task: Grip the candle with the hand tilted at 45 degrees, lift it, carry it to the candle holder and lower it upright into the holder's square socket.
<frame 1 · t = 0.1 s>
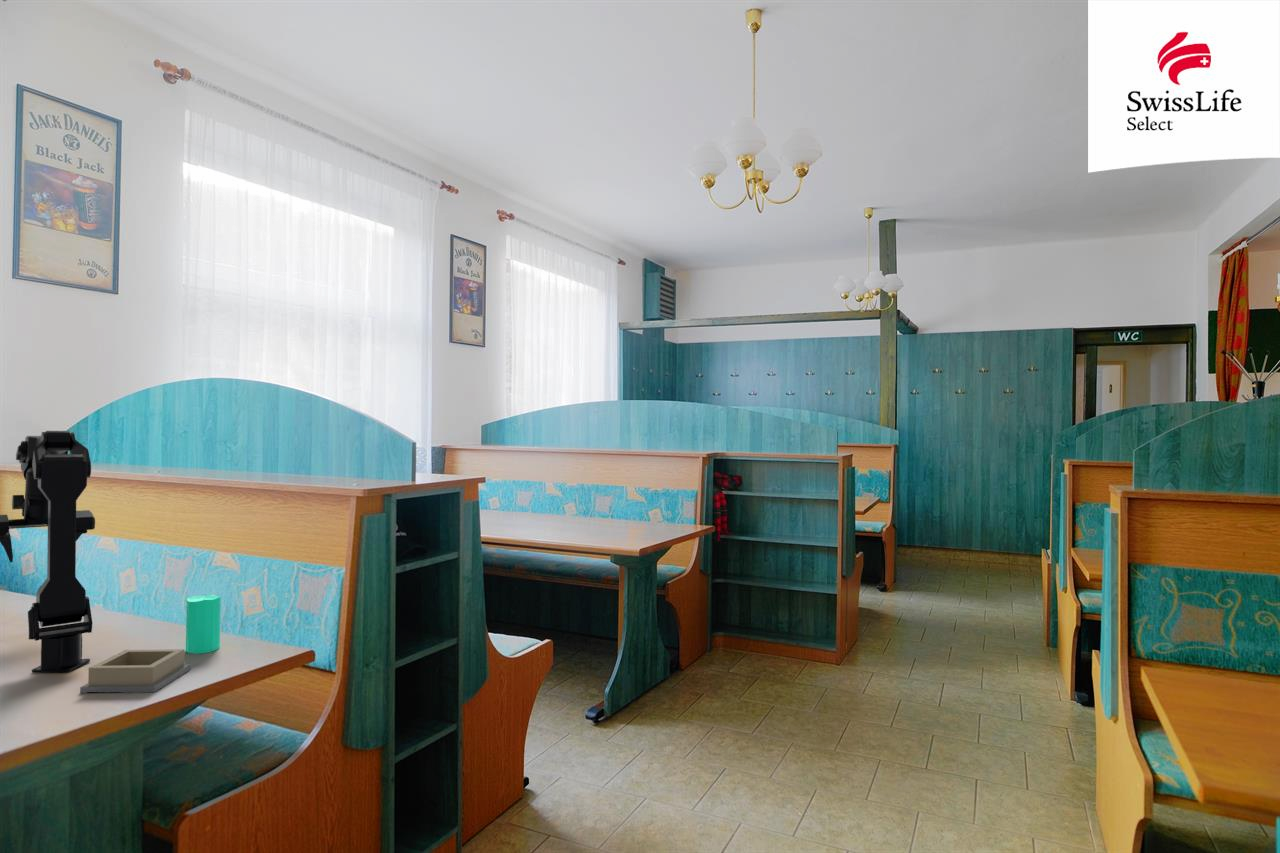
hand: (38, 559, 163), 15 cm above the table, tool pointing down, fingers open, 9 cm apart
candle: (202, 649, 151), on the table
candle holder: (138, 680, 132), on the table
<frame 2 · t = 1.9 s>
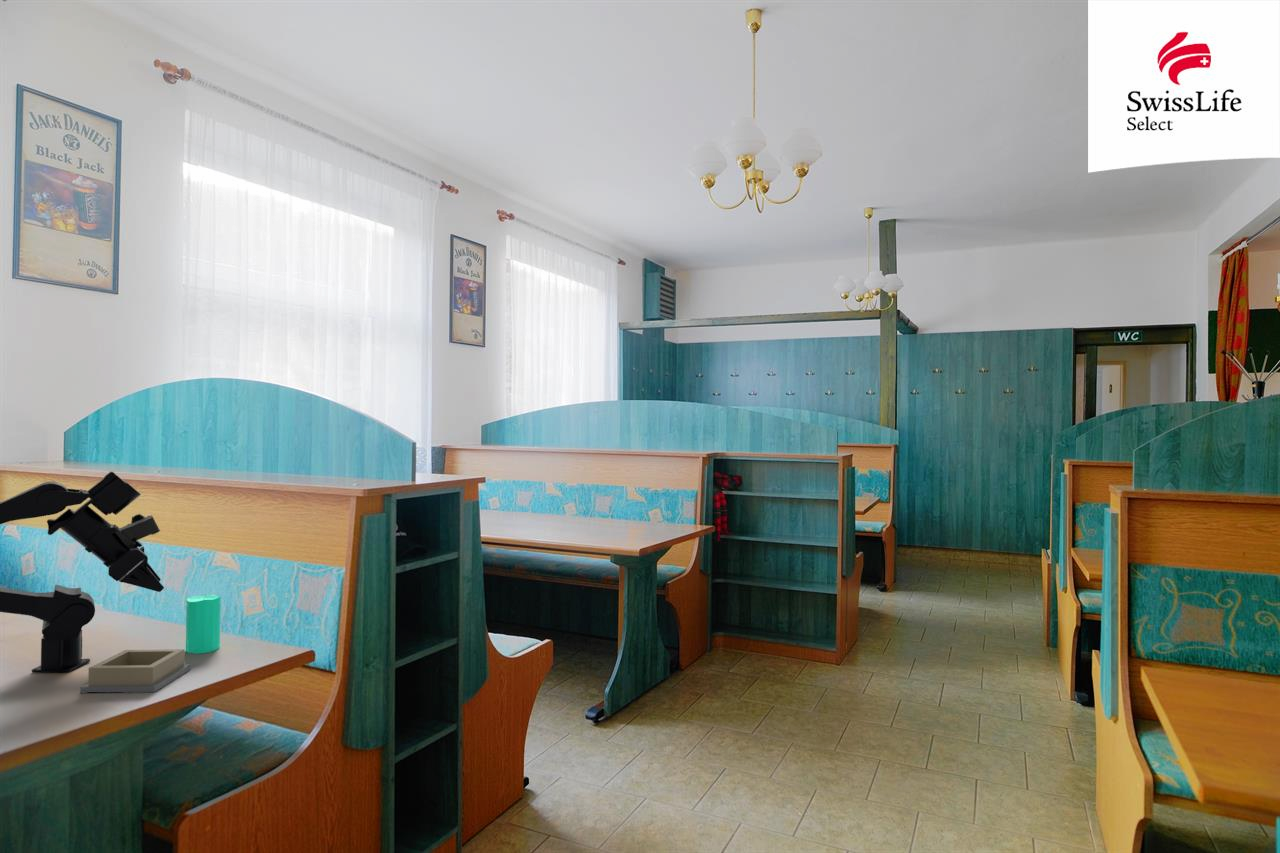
hand: (160, 585, 147), 14 cm above the table, tool tilted 45°, fingers open, 9 cm apart
nothing on the table moved.
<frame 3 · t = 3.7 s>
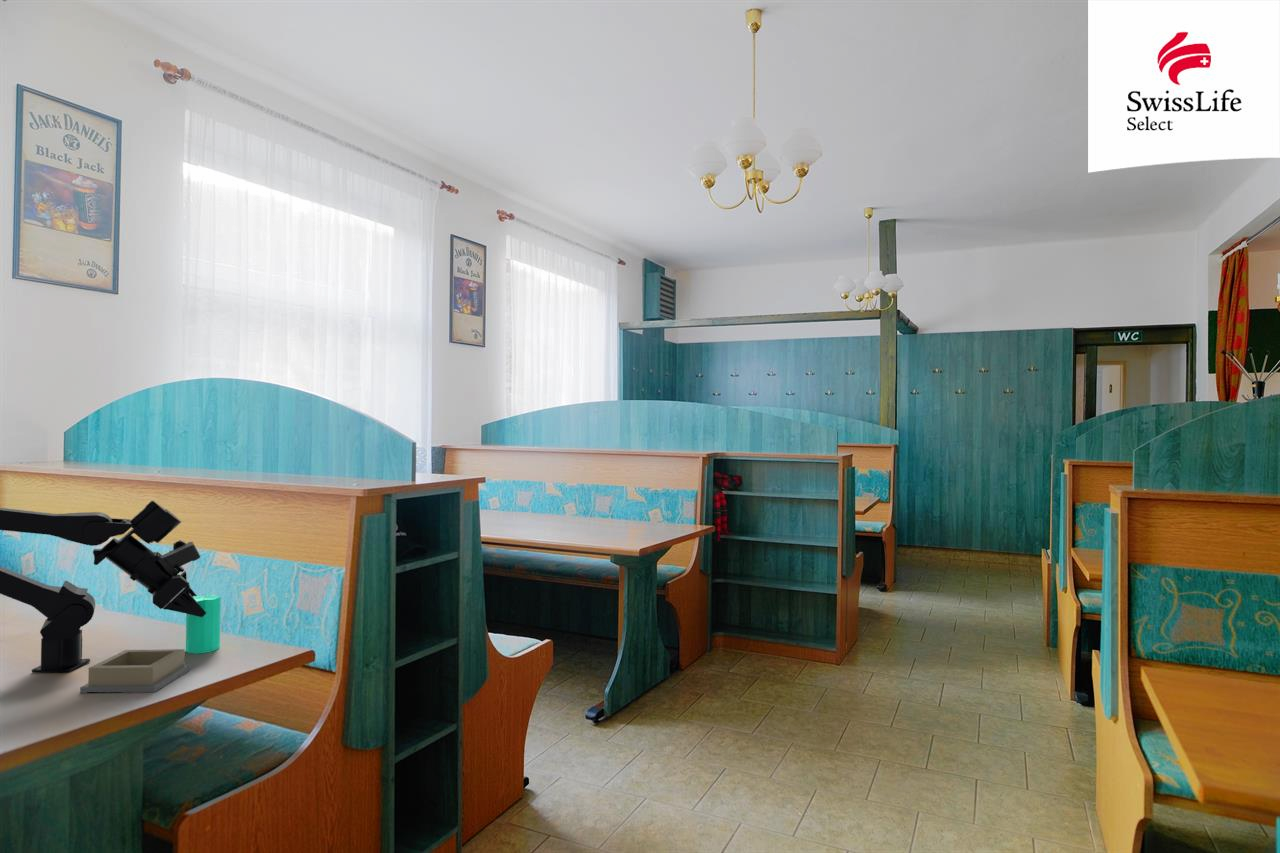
hand: (202, 610, 151), 8 cm above the table, tool tilted 45°, fingers open, 9 cm apart
nothing on the table moved.
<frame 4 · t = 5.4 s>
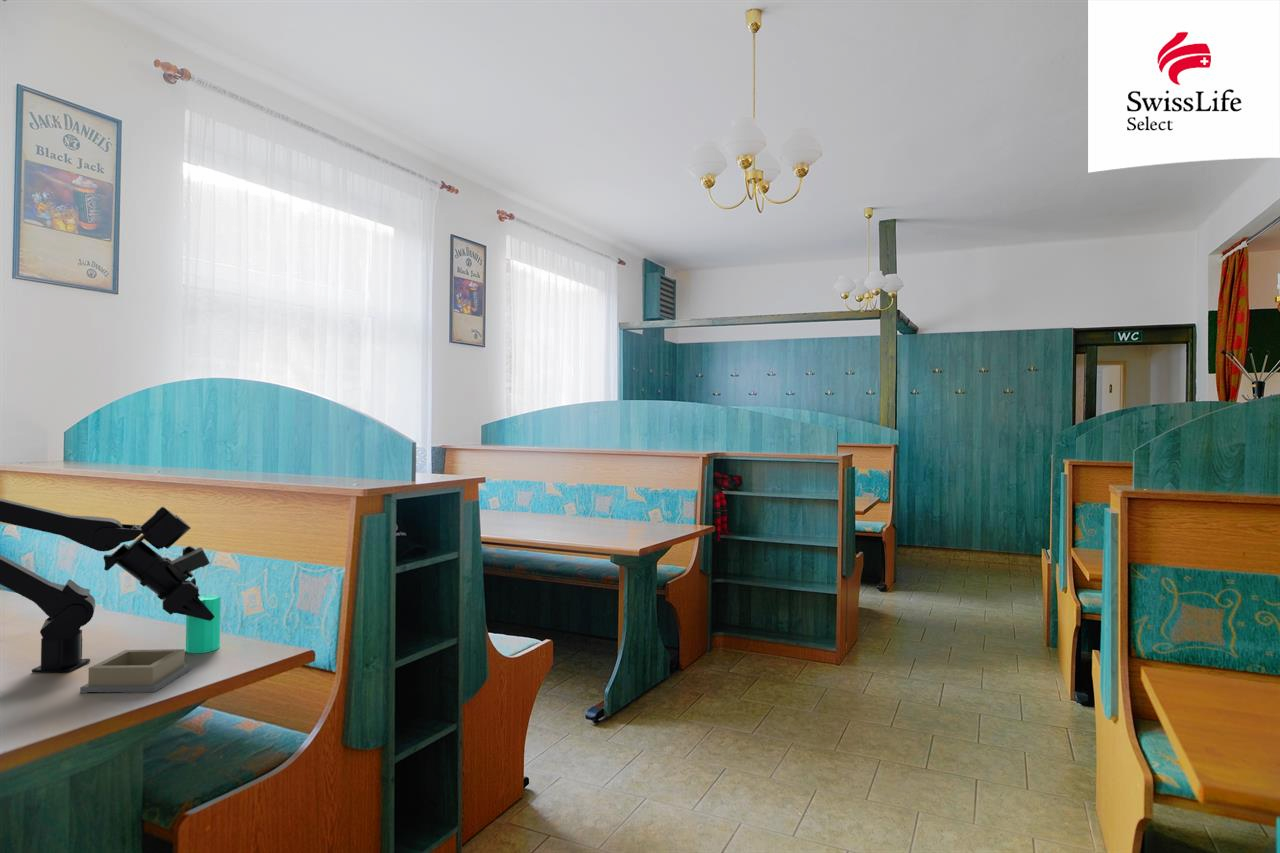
hand: (211, 615, 152), 7 cm above the table, tool tilted 45°, fingers closed on candle, 5 cm apart
candle: (202, 649, 151), on the table, touching gripper
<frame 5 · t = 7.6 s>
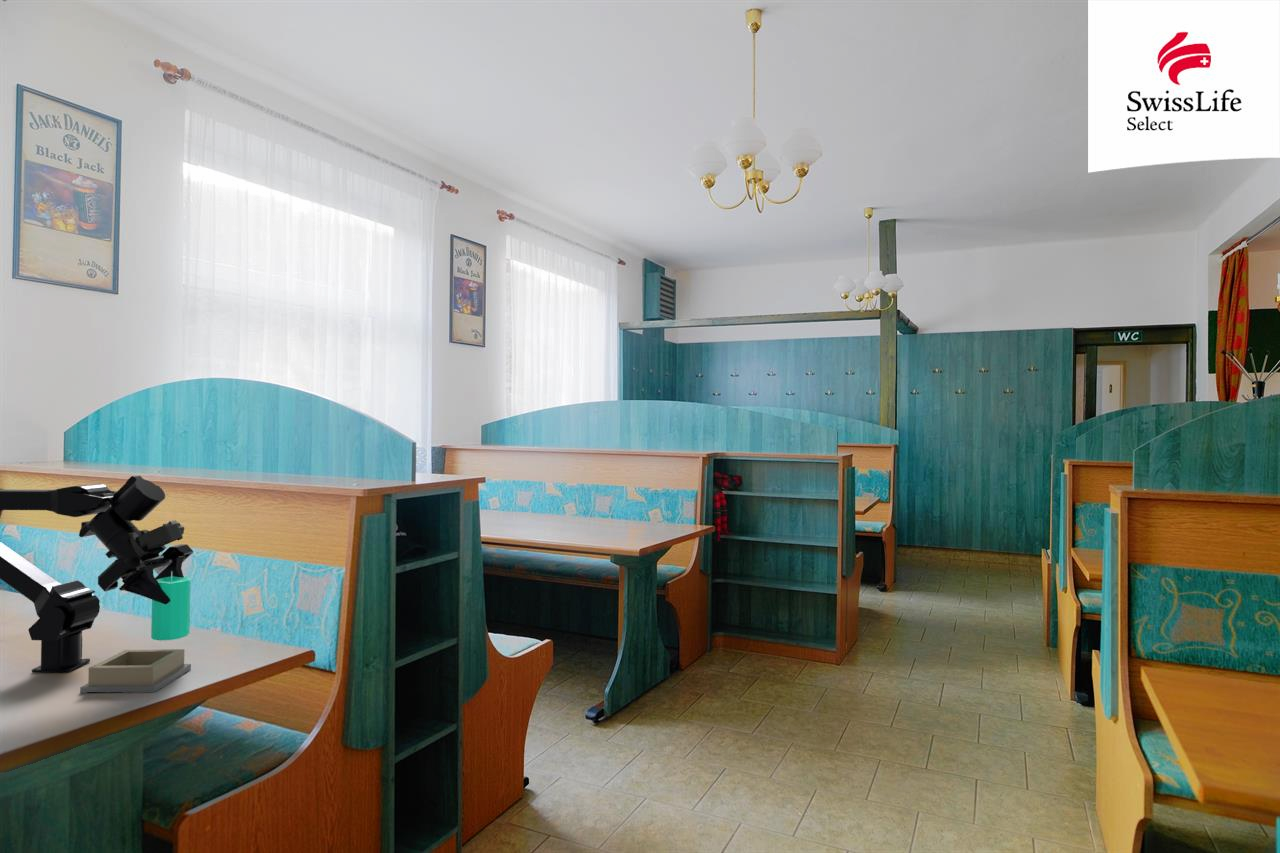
hand: (178, 599, 138), 13 cm above the table, tool tilted 45°, fingers closed on candle, 5 cm apart
candle: (170, 636, 138), point 6 cm above the table, touching gripper
when the fingers open (8 cm above the table, at t = 10.2 s): candle stays where it is, resting on candle holder.
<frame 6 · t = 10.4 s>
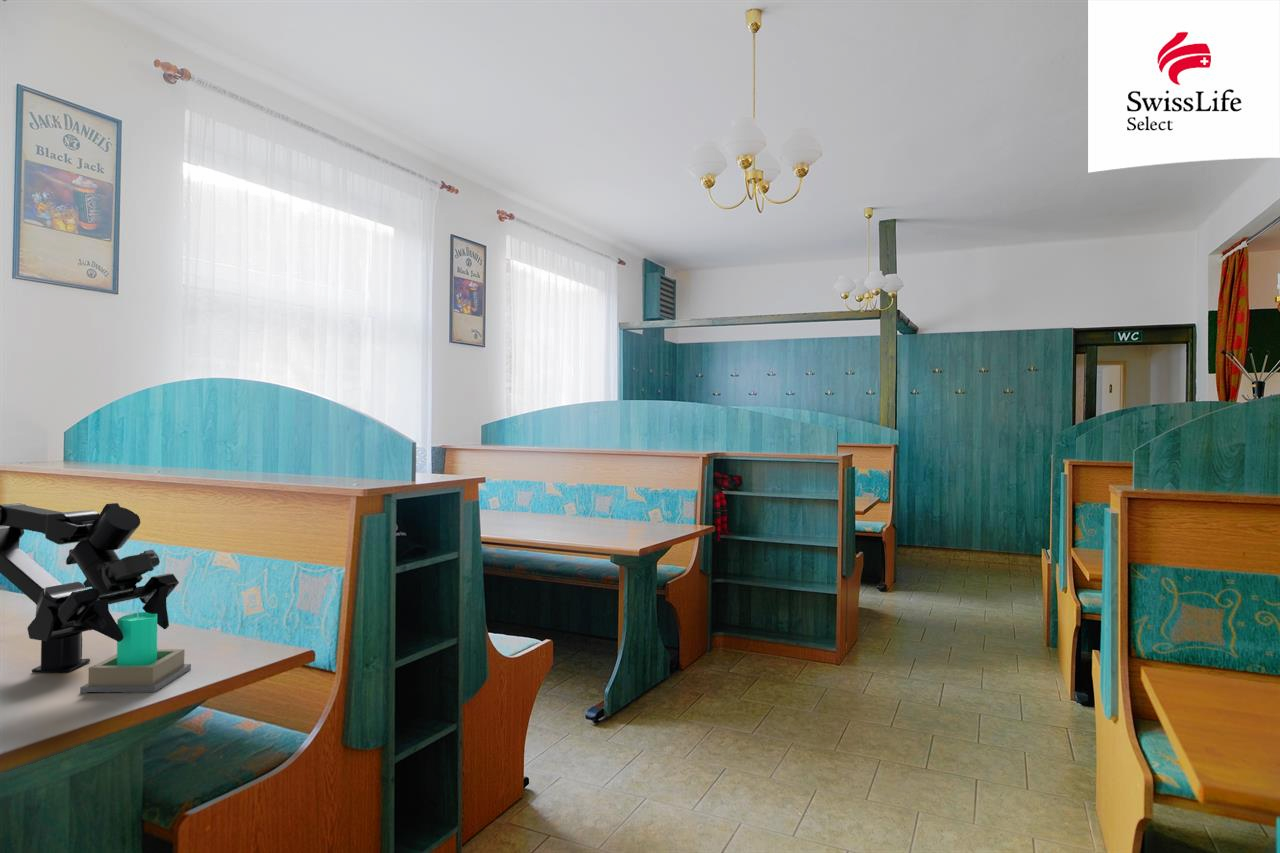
hand: (144, 633, 131), 9 cm above the table, tool tilted 45°, fingers open, 8 cm apart
candle: (137, 676, 132), point 1 cm above the table, touching candle holder
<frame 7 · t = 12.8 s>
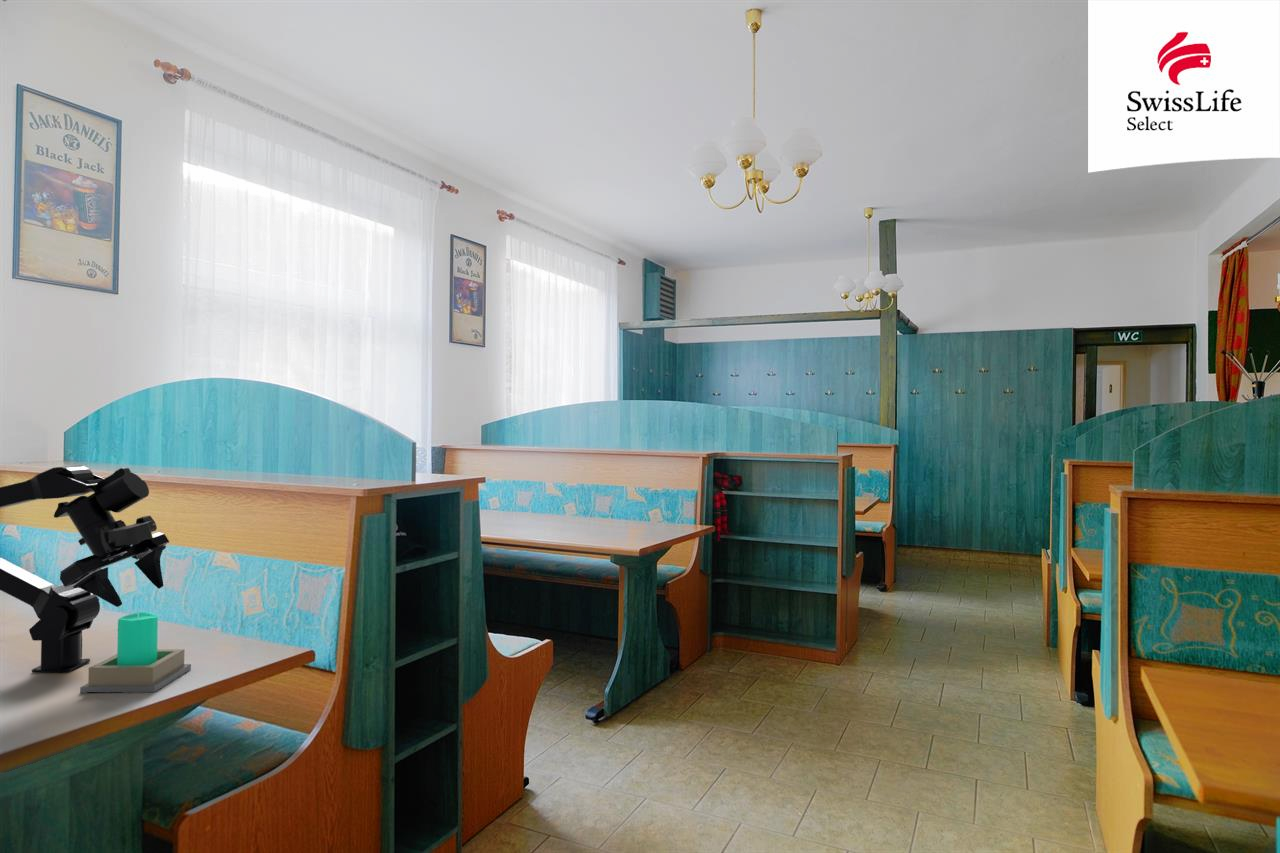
hand: (141, 596, 139), 13 cm above the table, tool tilted 30°, fingers open, 9 cm apart
nothing on the table moved.
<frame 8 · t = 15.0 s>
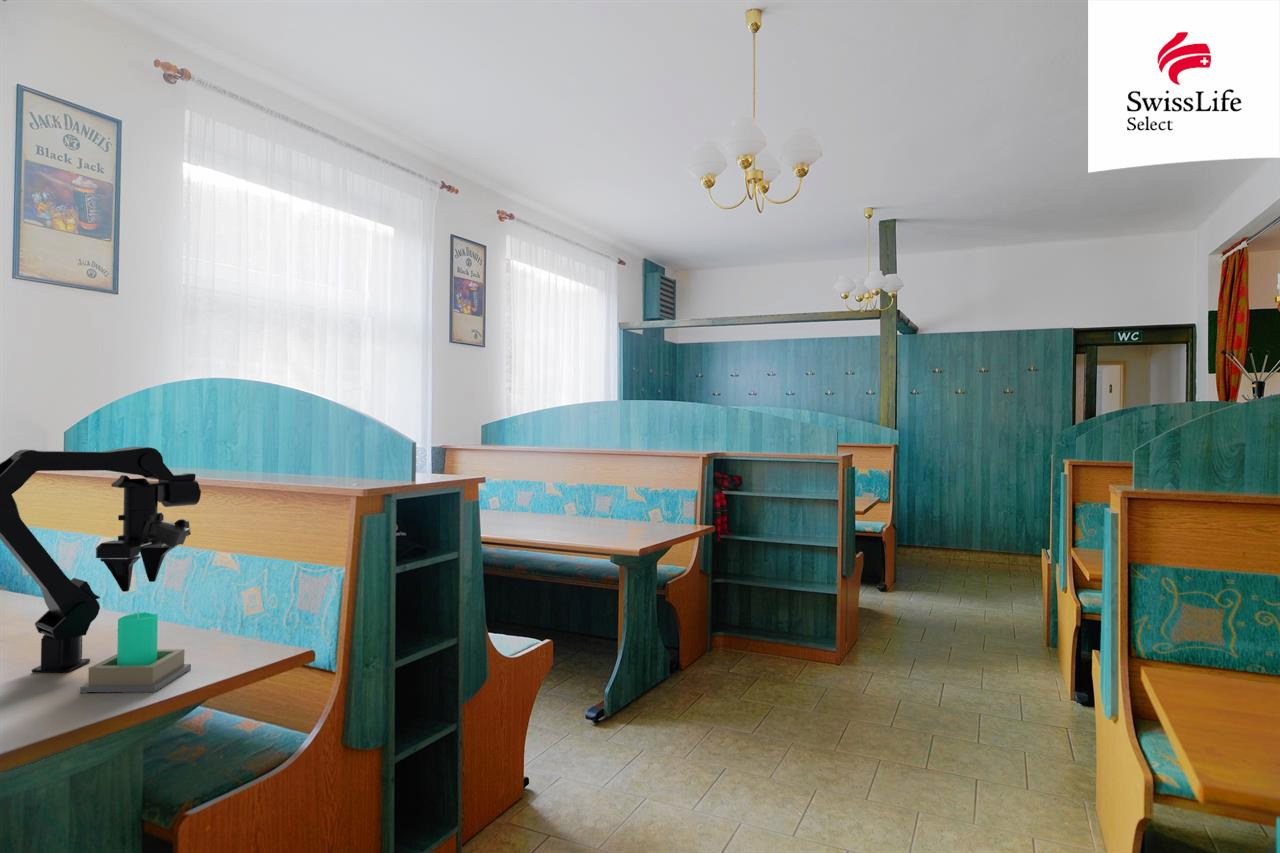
hand: (139, 586, 149), 13 cm above the table, tool pointing down, fingers open, 9 cm apart
nothing on the table moved.
at the end: candle 0.2 cm off-centre on the candle holder, point 0.8 cm above the candle holder's base; candle tilted 0°; the gripper is holding nothing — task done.
